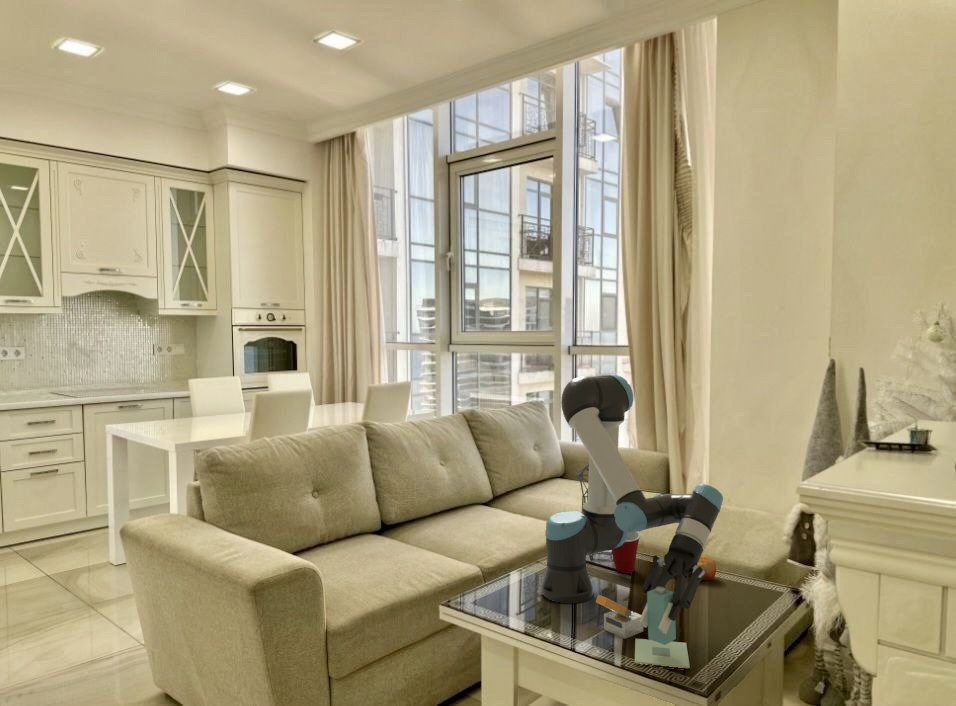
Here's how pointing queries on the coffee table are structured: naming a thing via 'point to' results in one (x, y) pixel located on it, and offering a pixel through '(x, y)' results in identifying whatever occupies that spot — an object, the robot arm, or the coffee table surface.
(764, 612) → the coffee table surface
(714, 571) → the fruit
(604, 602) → the lever
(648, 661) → the pad
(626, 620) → the box
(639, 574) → the coffee table surface
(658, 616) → the teal tall block
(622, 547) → the plastic cup
